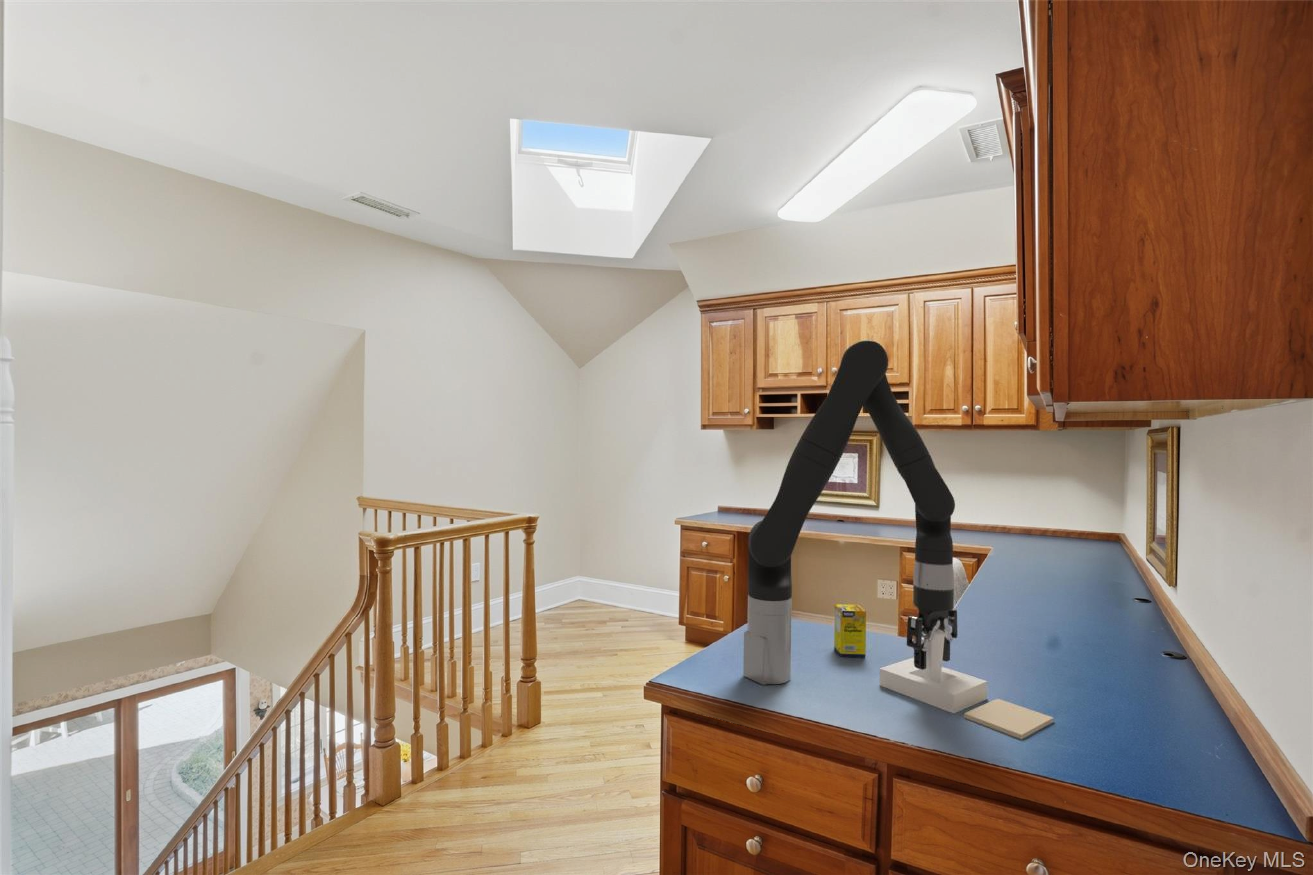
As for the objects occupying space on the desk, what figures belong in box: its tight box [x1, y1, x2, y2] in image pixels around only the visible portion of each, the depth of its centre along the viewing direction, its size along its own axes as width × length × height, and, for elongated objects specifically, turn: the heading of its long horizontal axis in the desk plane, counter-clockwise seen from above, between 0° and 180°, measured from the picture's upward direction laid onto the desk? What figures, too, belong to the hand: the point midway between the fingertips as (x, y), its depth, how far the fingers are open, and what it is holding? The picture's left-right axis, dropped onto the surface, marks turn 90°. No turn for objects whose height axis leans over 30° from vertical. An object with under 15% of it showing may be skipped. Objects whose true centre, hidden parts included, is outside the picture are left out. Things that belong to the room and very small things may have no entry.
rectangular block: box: [879, 656, 988, 714], centre depth 127 cm, size 12×16×4 cm
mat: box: [963, 698, 1054, 740], centre depth 115 cm, size 12×10×1 cm
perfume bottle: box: [921, 629, 945, 683], centre depth 127 cm, size 5×4×15 cm
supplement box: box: [833, 603, 867, 658], centre depth 149 cm, size 6×6×11 cm
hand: (932, 664), depth 127 cm, fingers open, 8 cm apart
